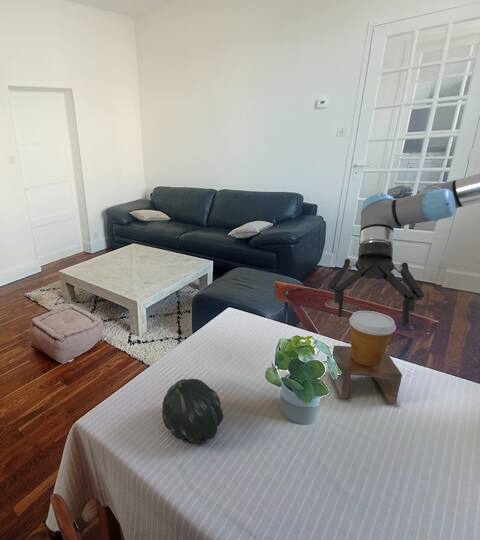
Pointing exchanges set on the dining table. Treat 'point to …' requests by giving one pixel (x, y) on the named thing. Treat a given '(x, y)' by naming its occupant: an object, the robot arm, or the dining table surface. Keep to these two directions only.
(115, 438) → the dining table surface
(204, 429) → the squash
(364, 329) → the disposable coffee cup
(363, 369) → the shelf
